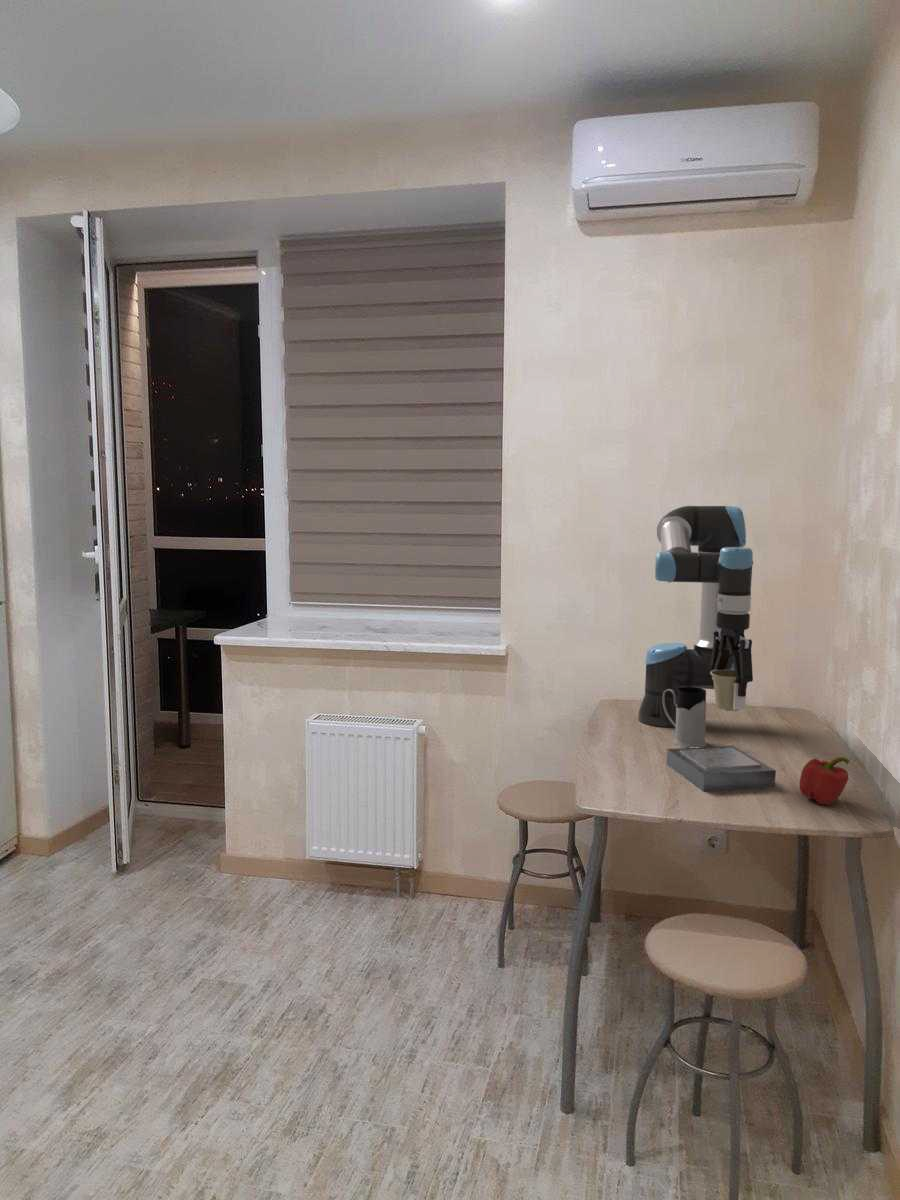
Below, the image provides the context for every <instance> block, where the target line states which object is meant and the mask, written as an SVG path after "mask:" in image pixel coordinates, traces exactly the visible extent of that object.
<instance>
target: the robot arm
mask: <svg viewBox="0 0 900 1200" xmlns="http://www.w3.org/2000/svg"><path fill="white" fill-rule="evenodd" d="M746 530H747V529H746V523H745V516H744V512H743V511H742V509H741V508H740V507H739V506H738V507H737V506H732V505H730V506H729V505H684V506H681V507H678V508H675V509H673V510H671V511H669V512H668V513H666V514H665V515H664V516H663V517H662V518H661V519H660V521H659V522H658V524H657V527H656V536H657V537H656V538H657V539H658V542H659V543H660V544H661V545H660V546H661V551H659V552H656V553H655V559H654V560H655V563H654V564H655V565H654V566H655V567H654V578H655V580H656V581H659V582H667V583H701V600H700V605H701V606H700V621H699V622H700V625H699V627H700V628H699V629H700V630H699V638H697V640H696V641H695V642H694V643H693V649H692V648H688V646H687V645H686V643H681V642H680V643H679V642H678V643H677V642H670V643H668V642H667V643H660V644H656V645H652V646H650V647H649V648H647V651H646V657H645V661H644V662H645V663H644V664H645V681H644V696H643V698H642V701H641V703H640V707H639V709H638V714H637V720H638V721H639V722H641V723H643V724H646V725H650V726H654V727H655V726H656V727H664V728H665V727H667V728H670V727H671V728H675V727H674V725H673V724H672V723H671V721H670V720H669V718H668V717H667V715H666V713H665V711H664V707H663V702H662V696H663V692H664V691H665V690H667V689H671V690H673V691H674V692H675V694H676V703H677V696H678V688H681V687H696V688H701V689H704V690H714V681H713V679H712V675H711V674H710V672H711V671H713V670H722V669H727V670H735V675H736V680H735V681H734V698H733V709H734V710H738V711H740V710H743V711H744V710H746V699H747V689H746V685H747V686H748V683H751V682H753V681H754V676H753V673H754V672H753V660H752V659H753V658H752V656H753V655H752V646H753V645H752V644H753V640H752V639H747V638H746V637H745V630H748V629H750V622H751V619H750V618H751V614H750V613H749V612H750V611H751V607H752V604H751V603H752V602H751V600H752V580H753V579H752V578H753V565H754V560H753V558H754V557H753V550H752V549H751V548H749V547H745V546H746V544H747V542H746V541H747V538H746V537H747V531H746ZM693 546H695V547H697V552H692V549H691V547H693ZM740 677H741V678H740ZM713 701H715V702H716V699H715V690H714V691H713ZM665 706H666V709H667V712H668V714H669V716H670V717H671V719H672V720H673V722H674V723H675V724H676V707H677V706H675V704H674V696H673V693H672V692H671V691H669V690H667V691H666V693H665Z"/></svg>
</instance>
